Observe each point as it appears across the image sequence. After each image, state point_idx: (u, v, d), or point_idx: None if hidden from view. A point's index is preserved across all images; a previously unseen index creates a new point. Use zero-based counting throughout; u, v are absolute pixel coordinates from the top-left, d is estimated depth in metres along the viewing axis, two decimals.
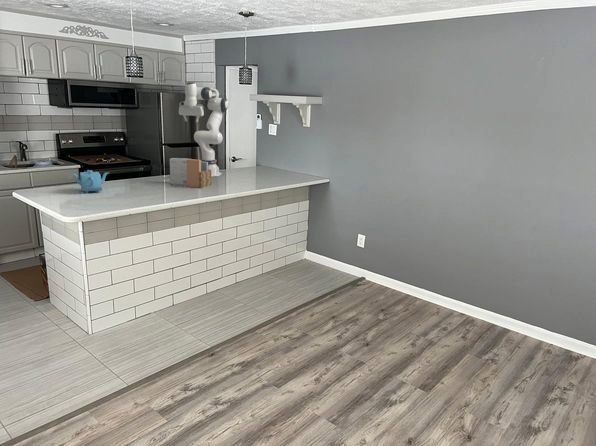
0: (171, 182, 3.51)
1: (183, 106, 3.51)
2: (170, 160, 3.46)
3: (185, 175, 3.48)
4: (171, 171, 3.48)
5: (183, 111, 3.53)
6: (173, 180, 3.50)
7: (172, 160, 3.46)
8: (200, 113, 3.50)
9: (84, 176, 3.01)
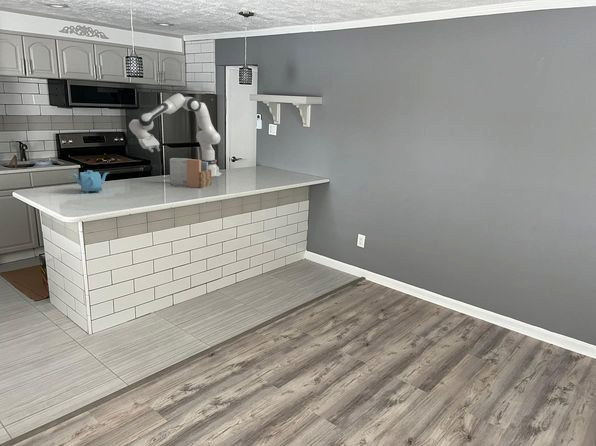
0: (171, 182, 3.51)
1: None
2: (170, 160, 3.46)
3: (185, 175, 3.48)
4: (171, 171, 3.48)
5: None
6: (173, 180, 3.50)
7: (172, 160, 3.46)
8: None
9: (84, 176, 3.01)
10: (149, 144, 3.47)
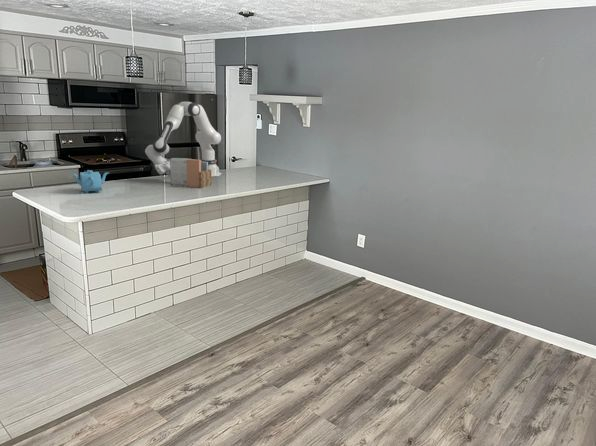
0: (172, 182, 3.51)
1: None
2: (171, 160, 3.46)
3: (185, 175, 3.48)
4: (172, 171, 3.48)
5: None
6: (173, 180, 3.50)
7: (173, 160, 3.46)
8: None
9: (84, 176, 3.01)
10: (165, 169, 3.49)
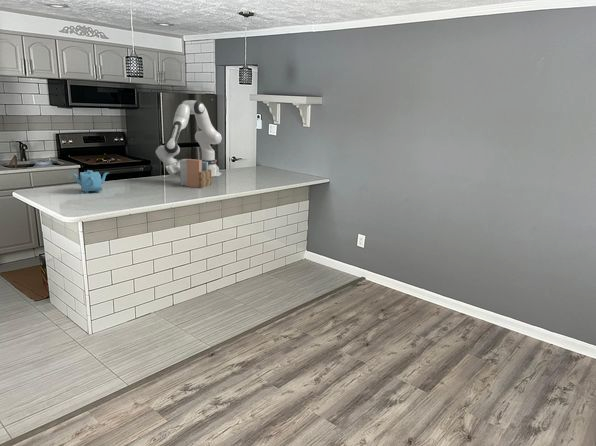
0: (181, 183, 3.48)
1: None
2: (181, 161, 3.44)
3: None
4: (181, 172, 3.46)
5: None
6: (183, 181, 3.48)
7: (182, 161, 3.44)
8: None
9: (84, 176, 3.01)
10: (176, 170, 3.47)
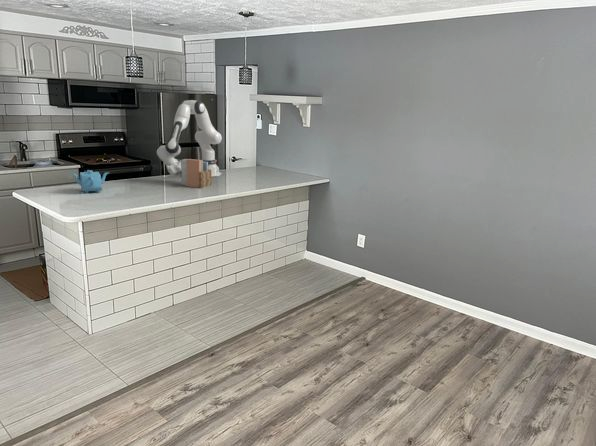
0: (182, 183, 3.48)
1: None
2: (182, 161, 3.44)
3: None
4: (182, 172, 3.46)
5: None
6: (184, 181, 3.47)
7: (183, 161, 3.43)
8: None
9: (84, 176, 3.01)
10: (177, 171, 3.47)
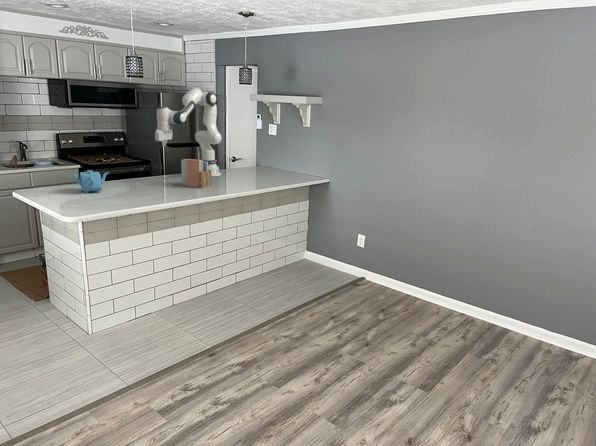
0: (182, 183, 3.48)
1: None
2: (182, 161, 3.44)
3: None
4: (182, 172, 3.46)
5: None
6: (184, 181, 3.47)
7: (183, 161, 3.43)
8: None
9: (84, 176, 3.01)
10: (162, 138, 3.44)
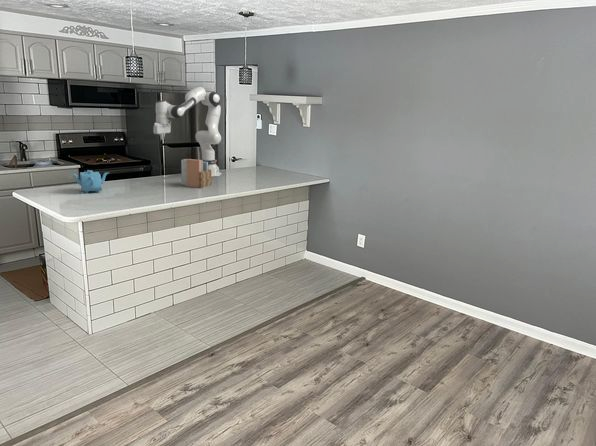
0: (182, 183, 3.48)
1: None
2: (182, 161, 3.44)
3: None
4: (182, 172, 3.46)
5: None
6: (184, 181, 3.47)
7: (183, 161, 3.43)
8: None
9: (84, 176, 3.01)
10: (161, 132, 3.51)
